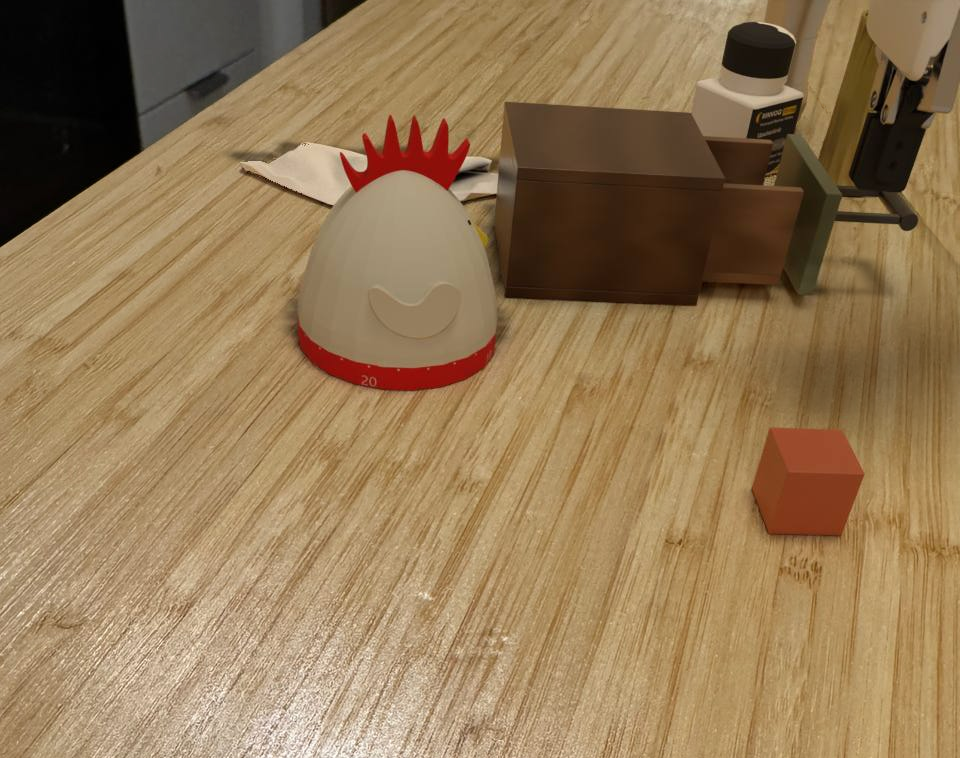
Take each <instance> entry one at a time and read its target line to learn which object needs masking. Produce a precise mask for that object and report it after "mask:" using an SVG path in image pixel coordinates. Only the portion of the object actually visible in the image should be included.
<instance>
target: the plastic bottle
mask: <svg viewBox="0 0 960 758" xmlns="http://www.w3.org/2000/svg"><path fill="white" fill-rule="evenodd" d="M766 2H767V3H766V6H765V7H766V8H765V12H764V14H765V15H764V19H763V21H764V22H763V23H769V24H773V25H777V26H780V27H782V28H784V29H786V30H787V31H788V32H790V33H791V34H792V35H793V36H794V38H795V40H796V45H795V49H794V53H793V57H792V61H791V65H790V69H789V74H788V78H787V82H786V83H785V84H784V85H785V86H788V87H790V88H793V89H795V90H797V91H800V92H802V93H803V100H802V104H801V108H800V112H799V116H798V120H797V123H799V121H800V120H801V118H802V115H803V114H804V111H805V109H806V106H807V101H808V95H809V78H810V74H811V68H812V63H813V58H814V53H815V49H816V48H815V47H816V44H817V41H818V38H819V32H820V31H821V28H822V26H823V22H824V19H825V16H826V12H827V10H828V7H829V5H830V3H831V0H767V1H766Z"/></svg>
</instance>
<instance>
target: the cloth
mask: <svg viewBox="0 0 960 758" xmlns="http://www.w3.org/2000/svg"><path fill="white" fill-rule="evenodd" d="M304 142H305V143H307V144H306V145H305V144H303V143H304ZM304 142H302V143H301V144H299V145H298V146H297V147H296V148H295V149H293V150H288V151H287V152H286V153H284V154H282V155H280V156H279V157H277V158H275V159H276V160H274V161H272V162H271V163H269V164H268V163H265V162H262V161H248V162H243V161H239V164H240V165H241V167H242V169H243V168H244V169H246V170H250V171H253V172H256V173H258V174H260V175H262V176H263V177H265V178H267V179H266V180H268V179H269V180H268V181H270V180H271V181H270V182H272V181H273V182H272V183H275V182H276V183H275V184H277V183H278V184H277V185H279V184H280V185H279V186H282V187H284V186H285V187H284V188H286V187H287V188H286V189H289V190H291V189H292V190H291V191H294V192H296V191H297V192H296V193H299V194H301V193H302V195H304V196H307V197H309V198H312V199H315V200H317V201H319V202H323V203H325V204H327V205H331V206H334V204H335V203H336V202H337V201H338V199H339V198H340V197H341V196H342V195H343V194H344V193H345V192H346V191H347V190H348V189H349V188H350V187H351V186H352V185H351V183H350V181H349V179H348V177H347V175H346V173H345V170H344V168H343V164H342V161H341V157H340V152H342V153H343V154H344V156H345V157H346V159H347V160H348V162H349V163H350V165H351V166H352V167H353V168H354V169H355V170H356V171H358V172H363V171H365V170H366V169H367V156H366V154H362V153H358V152H355V151H352V150H347V149H343V148H339V147H335V146H330V145H325V144H320V143H316V142H311V143H310V142H309V141H304ZM302 144H303V145H302ZM308 144H309V145H308ZM304 145H305V146H304ZM492 161H493V160H492V159H489V158H486V157H483V156H470V155H469V156H468V155H467V156H466V158H465V160H464V162H463V164H462V166H461V168H460V170H459V172H458V173H457V175H456V177H455V179H454V181H453V183H452V184H451V186H450V188H449V189H450V190H451V191H452V192H453V194H454V195H455V196H456V197H457V198H458V199H459V201H460V202H461V203H462V202H466V201H470V200H473V199H474V200H475V199H478V198H482V197H488V196H492V195H497V184H498V173H495V172H489V171H490V168H491V164H492ZM244 169H243V170H244ZM481 171H484V172H481ZM486 171H487V172H486ZM263 177H262V178H263ZM265 178H264V179H265Z"/></svg>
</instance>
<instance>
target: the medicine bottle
mask: <svg viewBox="0 0 960 758" xmlns="http://www.w3.org/2000/svg"><path fill="white" fill-rule="evenodd" d="M795 45H796V40H795V38H794V36H793V35H792V34H791V33H790V32H788V31H787V30H786V29H784V28H782V27H780V26H777V25H773V24H769V23H764V22H762V21H747V22H746V21H745V22H742V23H738V24H735V25H733V26H732V27H731V28H730V29H729V30H728V31H727V35H726V41H725V44H724V50H723V54H722V60H721V64H720V69H719V74H720V75H719V76H714V77H710V78H705V79H701V80H698V81H697V82H696V85H695V90H694V94H693V95H694V96H693V99H692V105H691V110H690V113H691V114H692V116H693V117H694V119H695V121H696V123H697V125H698V127H699V129H700V131H701V133H702V135H703V136H712V137H729V138H747V139H764V140H771V141H772V142H773V147H772V151H771V155H770V159H769V164H768V168H767V172H766V176H771V175H773V174H777V172H778V168H779V164H780V160H781V157H782V153H783V149H784V145H785V141H786V137H787V134H795V131H796V127H797V123H798V122H797V120H798V116H799V112H800V108H801V104H802V100H803V93H802V92H800V91H797V90H795V89H793V88H790V87H788V86H785V85H784V84H785V83H786V82H787V78H788V74H789V69H790V65H791V61H792V57H793V53H794V49H795ZM766 176H765V177H766Z"/></svg>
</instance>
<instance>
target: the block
mask: <svg viewBox="0 0 960 758" xmlns="http://www.w3.org/2000/svg"><path fill="white" fill-rule="evenodd" d="M864 477H865V472H864V470H863V468H862V466H861V464H860V462H859V460H858V458H857V456H856V453H855V452H854V450H853V447H852V446H851V444H850V442H849V440H848V439H847V436H846V434H845V431H844V430H842V429H824V428H801V427H800V428H798V427H797V428H796V427H769V429H768V433H767V436H766V439H765V442H764V446H763V449H762V452H761V455H760V459H759V463H758V465H757V469H756V472H755V476H754V479H753V482H752V486H751V491H752V493H753V496H754V499H755V501H756V504H757V506H758V509H759V511H760V514H761V517H762V519H763V522H764V525H765V527H766V530H767V532H768V533H767V534H770V535H805V536H807V535H808V536H811V535H812V536H842V535H843V533H844V531H845V528H846V525H847V522H848V520H849V517H850V514H851V511H852V510H853V507H854V506H853V505H854V504H855V501H856V498H857V496H858V493H859V490H860V488H861V485H862V482H863V480H864Z"/></svg>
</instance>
